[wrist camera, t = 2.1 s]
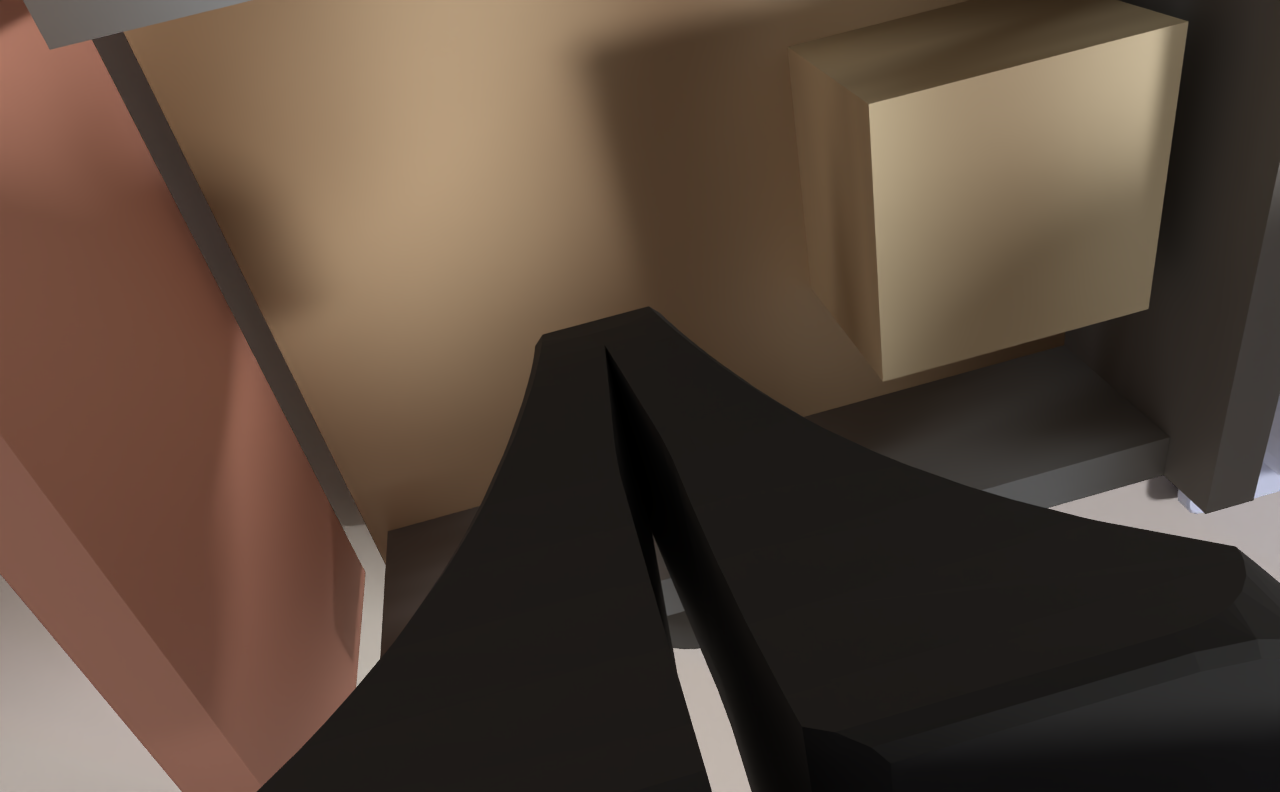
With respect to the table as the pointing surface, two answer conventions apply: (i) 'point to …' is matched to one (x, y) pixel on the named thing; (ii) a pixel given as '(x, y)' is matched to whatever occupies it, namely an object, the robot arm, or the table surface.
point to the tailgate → (152, 448)
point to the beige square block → (985, 172)
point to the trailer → (667, 241)
